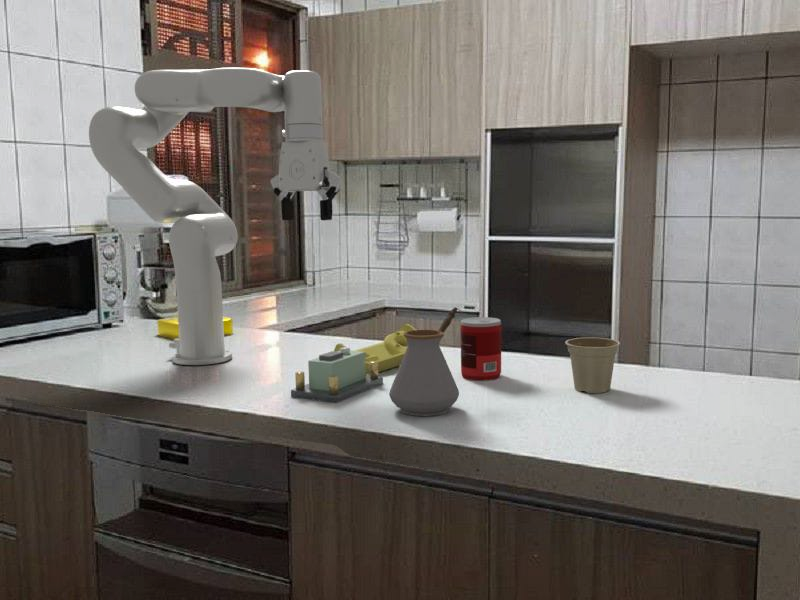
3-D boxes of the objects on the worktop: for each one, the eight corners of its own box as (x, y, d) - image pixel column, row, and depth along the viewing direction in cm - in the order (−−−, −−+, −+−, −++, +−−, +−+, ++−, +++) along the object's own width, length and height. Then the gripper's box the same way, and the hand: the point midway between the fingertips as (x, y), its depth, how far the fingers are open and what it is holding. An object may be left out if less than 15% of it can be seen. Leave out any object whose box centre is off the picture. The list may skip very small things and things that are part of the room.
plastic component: (365, 366, 153) (333, 339, 159) (357, 396, 157) (326, 368, 162) (434, 343, 167) (403, 319, 172) (426, 371, 170) (395, 347, 176)
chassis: (291, 396, 140) (290, 373, 139) (340, 378, 153) (340, 356, 153) (335, 402, 135) (335, 378, 135) (383, 383, 148) (382, 361, 148)
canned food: (506, 373, 155) (506, 318, 153) (493, 382, 148) (493, 324, 146) (469, 370, 158) (469, 316, 156) (455, 379, 151) (454, 322, 149)
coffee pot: (443, 422, 122) (442, 327, 120) (377, 415, 127) (375, 323, 125) (488, 390, 141) (487, 308, 139) (428, 385, 146) (427, 305, 144)
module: (309, 388, 141) (308, 355, 140) (343, 375, 150) (342, 344, 149) (332, 391, 138) (331, 357, 137) (365, 378, 148) (365, 346, 147)
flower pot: (589, 398, 135) (589, 349, 134) (554, 387, 143) (554, 340, 142) (630, 391, 139) (631, 343, 138) (594, 381, 147) (595, 335, 146)
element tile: (236, 335, 206) (235, 316, 205) (184, 343, 196) (183, 324, 195) (206, 328, 217) (205, 311, 216) (155, 336, 206) (154, 318, 206)
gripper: (258, 136, 160) (262, 220, 163) (328, 131, 152) (331, 220, 154) (281, 137, 167) (284, 219, 169) (350, 133, 158) (352, 219, 160)
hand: (306, 220), depth 161 cm, fingers open, 9 cm apart
